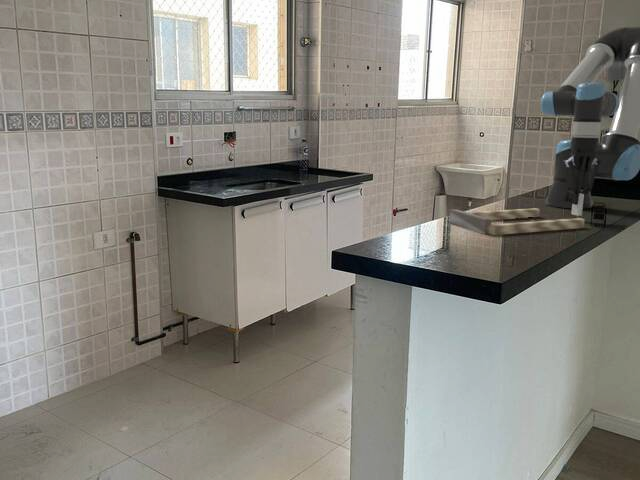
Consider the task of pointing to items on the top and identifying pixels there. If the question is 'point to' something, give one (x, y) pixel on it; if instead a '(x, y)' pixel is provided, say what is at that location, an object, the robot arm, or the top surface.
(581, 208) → the robot arm
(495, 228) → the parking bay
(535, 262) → the top surface
